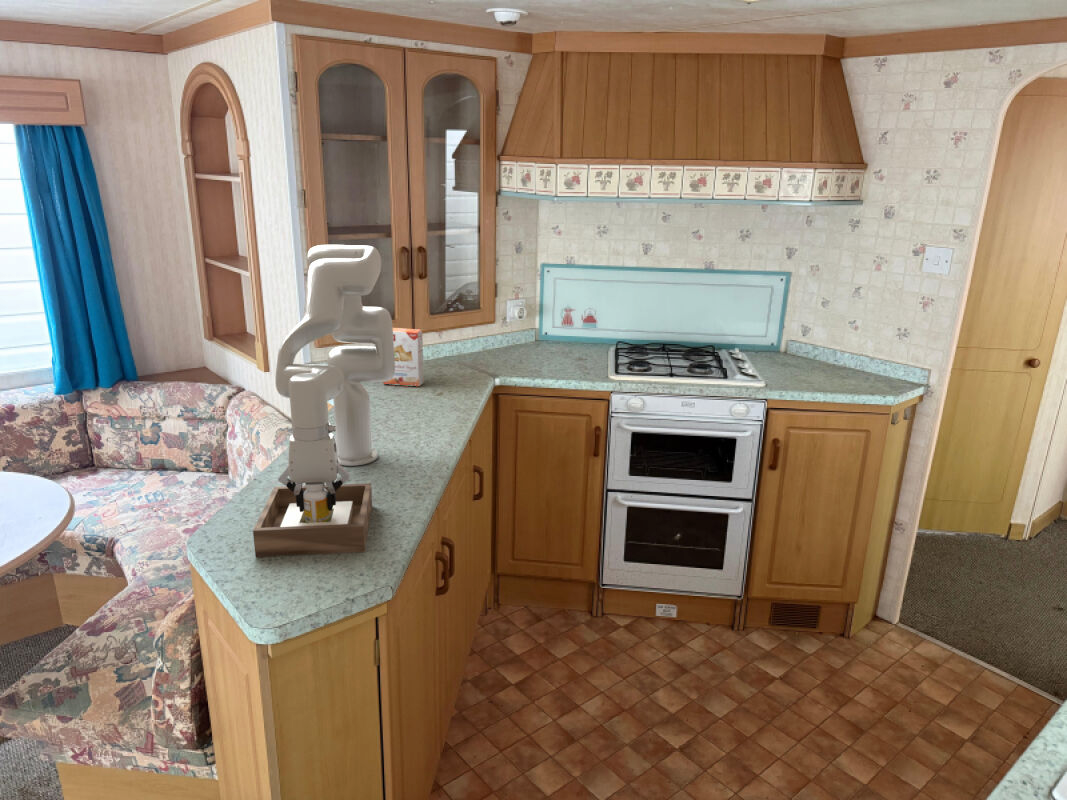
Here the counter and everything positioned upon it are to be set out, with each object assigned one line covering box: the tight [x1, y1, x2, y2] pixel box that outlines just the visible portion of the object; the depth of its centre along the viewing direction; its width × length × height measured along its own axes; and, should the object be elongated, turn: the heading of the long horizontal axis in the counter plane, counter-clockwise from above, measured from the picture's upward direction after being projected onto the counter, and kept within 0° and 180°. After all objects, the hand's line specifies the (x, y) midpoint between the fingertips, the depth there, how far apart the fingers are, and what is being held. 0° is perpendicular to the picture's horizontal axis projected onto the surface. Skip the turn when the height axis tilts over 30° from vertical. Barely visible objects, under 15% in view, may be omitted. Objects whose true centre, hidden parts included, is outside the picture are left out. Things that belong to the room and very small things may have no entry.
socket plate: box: [280, 501, 353, 527], centre depth 164 cm, size 14×14×2 cm
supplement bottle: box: [303, 482, 330, 523], centre depth 163 cm, size 5×5×10 cm
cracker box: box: [382, 327, 424, 386], centre depth 274 cm, size 14×6×21 cm, turn 81°
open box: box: [252, 483, 373, 558], centre depth 164 cm, size 22×22×6 cm
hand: (316, 507), depth 164 cm, fingers closed on supplement bottle, 5 cm apart
